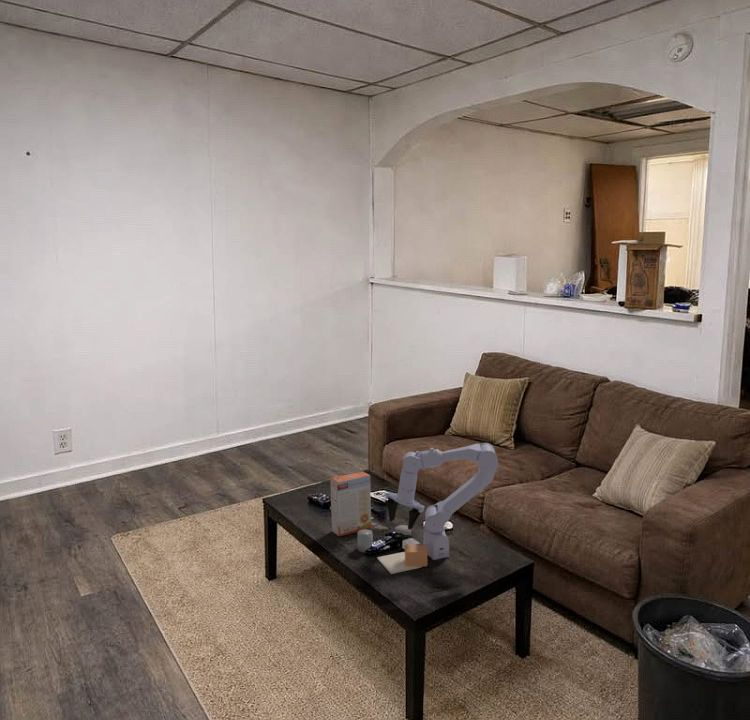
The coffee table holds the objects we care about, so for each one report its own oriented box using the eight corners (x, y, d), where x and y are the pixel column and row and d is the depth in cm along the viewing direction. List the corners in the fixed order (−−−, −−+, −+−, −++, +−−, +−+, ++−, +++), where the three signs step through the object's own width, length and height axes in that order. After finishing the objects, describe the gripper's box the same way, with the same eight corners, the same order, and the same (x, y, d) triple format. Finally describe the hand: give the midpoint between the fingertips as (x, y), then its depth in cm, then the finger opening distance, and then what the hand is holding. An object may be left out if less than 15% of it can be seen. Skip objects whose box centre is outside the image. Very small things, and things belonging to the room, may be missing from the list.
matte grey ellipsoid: (414, 536, 227) (414, 530, 226) (399, 539, 224) (399, 533, 224) (406, 530, 232) (406, 523, 232) (392, 533, 230) (392, 526, 229)
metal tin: (420, 551, 215) (420, 543, 215) (410, 554, 213) (410, 546, 213) (411, 545, 220) (411, 537, 219) (402, 548, 218) (402, 540, 217)
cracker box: (363, 522, 238) (363, 470, 235) (371, 528, 233) (371, 475, 230) (330, 531, 231) (329, 477, 227) (338, 537, 226) (337, 482, 222)
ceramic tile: (421, 567, 204) (421, 565, 204) (390, 574, 200) (390, 572, 200) (406, 552, 214) (406, 551, 214) (377, 558, 210) (377, 557, 210)
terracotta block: (404, 559, 208) (425, 559, 208) (405, 566, 203) (427, 566, 203) (404, 545, 207) (426, 544, 207) (405, 552, 202) (427, 552, 203)
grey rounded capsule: (374, 550, 216) (374, 534, 215) (360, 553, 214) (360, 537, 213) (369, 544, 220) (369, 528, 219) (355, 547, 218) (355, 530, 217)
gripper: (431, 491, 212) (424, 528, 214) (395, 477, 219) (389, 513, 222) (420, 496, 206) (414, 534, 208) (384, 482, 214) (378, 519, 216)
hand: (400, 524), depth 215 cm, fingers open, 7 cm apart
